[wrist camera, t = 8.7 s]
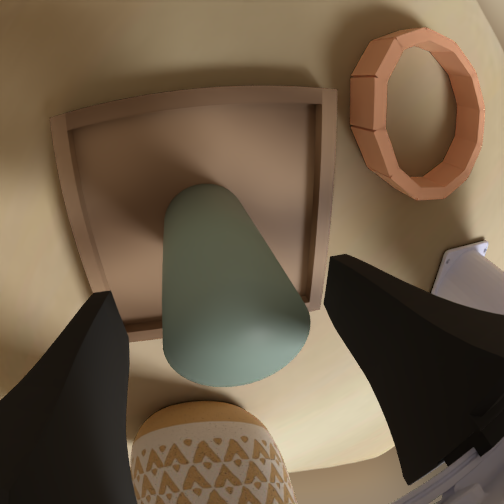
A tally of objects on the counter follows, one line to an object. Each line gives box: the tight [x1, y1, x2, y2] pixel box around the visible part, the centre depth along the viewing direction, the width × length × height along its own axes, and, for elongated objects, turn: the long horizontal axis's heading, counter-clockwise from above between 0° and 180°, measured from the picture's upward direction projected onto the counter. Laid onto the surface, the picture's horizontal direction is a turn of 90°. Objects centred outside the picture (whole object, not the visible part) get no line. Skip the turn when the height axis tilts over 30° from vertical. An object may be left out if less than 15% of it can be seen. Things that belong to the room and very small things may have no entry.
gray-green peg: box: [162, 184, 310, 387], centre depth 11 cm, size 4×4×8 cm
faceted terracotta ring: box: [350, 27, 485, 200], centre depth 14 cm, size 11×11×2 cm
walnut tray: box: [50, 86, 337, 342], centre depth 14 cm, size 13×13×2 cm
